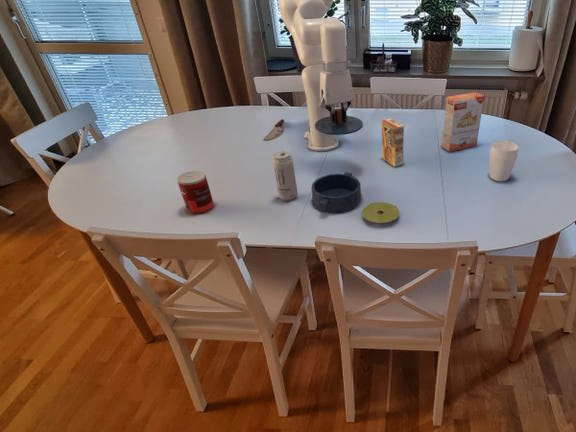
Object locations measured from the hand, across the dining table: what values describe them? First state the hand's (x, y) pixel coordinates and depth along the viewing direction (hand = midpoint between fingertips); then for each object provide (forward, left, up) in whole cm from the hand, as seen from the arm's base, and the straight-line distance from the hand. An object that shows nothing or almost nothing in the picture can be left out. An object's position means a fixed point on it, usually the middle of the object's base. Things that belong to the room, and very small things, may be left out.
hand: (338, 122), depth 133 cm
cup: (+52, +22, -18) cm, 59 cm away
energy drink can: (-5, -24, -18) cm, 31 cm away
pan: (+10, -18, -18) cm, 28 cm away
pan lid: (0, 0, -1) cm, 1 cm away
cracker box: (+31, +40, -19) cm, 54 cm away
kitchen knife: (-46, +18, -19) cm, 53 cm away
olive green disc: (+27, -20, -19) cm, 38 cm away
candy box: (+13, +15, -19) cm, 27 cm away
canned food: (-25, -42, -19) cm, 52 cm away
